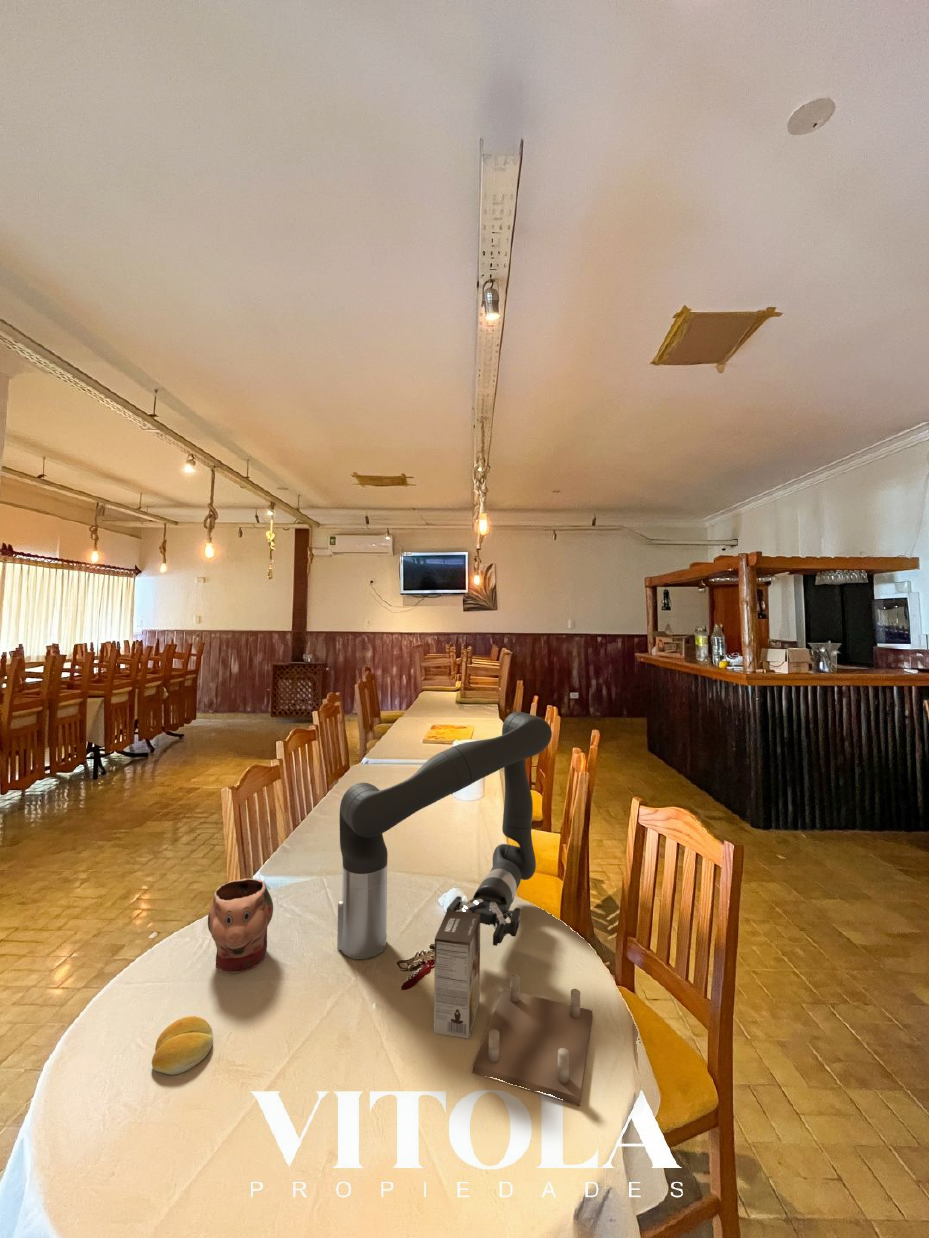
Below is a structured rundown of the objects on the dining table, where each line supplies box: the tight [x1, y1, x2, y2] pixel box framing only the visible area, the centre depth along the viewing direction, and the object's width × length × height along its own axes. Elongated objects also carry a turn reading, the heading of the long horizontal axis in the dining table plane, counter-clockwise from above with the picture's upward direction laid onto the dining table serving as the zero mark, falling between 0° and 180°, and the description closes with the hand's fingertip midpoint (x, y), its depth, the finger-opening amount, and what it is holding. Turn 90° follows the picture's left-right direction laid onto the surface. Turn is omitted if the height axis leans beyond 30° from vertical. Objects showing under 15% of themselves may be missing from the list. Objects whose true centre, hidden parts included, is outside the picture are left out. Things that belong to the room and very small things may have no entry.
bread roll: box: [151, 1015, 214, 1075], centre depth 85 cm, size 8×9×4 cm
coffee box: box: [433, 910, 481, 1039], centre depth 93 cm, size 9×6×16 cm
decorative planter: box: [207, 877, 274, 973], centre depth 109 cm, size 20×12×14 cm, turn 24°
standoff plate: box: [472, 974, 593, 1106], centre depth 88 cm, size 16×18×5 cm
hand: (472, 935), depth 101 cm, fingers open, 8 cm apart
